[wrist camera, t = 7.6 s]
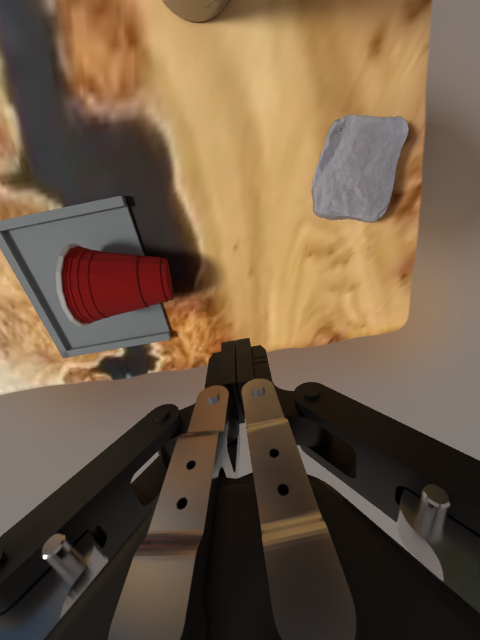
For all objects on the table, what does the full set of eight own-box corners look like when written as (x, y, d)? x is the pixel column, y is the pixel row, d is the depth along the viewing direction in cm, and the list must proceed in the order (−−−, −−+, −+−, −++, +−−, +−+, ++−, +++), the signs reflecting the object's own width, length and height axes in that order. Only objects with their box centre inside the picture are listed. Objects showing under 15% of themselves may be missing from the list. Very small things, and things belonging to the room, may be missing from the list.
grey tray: (124, 195, 34) (120, 195, 33) (171, 336, 44) (170, 339, 43) (-7, 222, 35) (-15, 223, 34) (67, 354, 45) (63, 357, 44)
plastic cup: (157, 219, 31) (50, 227, 29) (166, 307, 29) (52, 319, 28) (171, 256, 41) (93, 263, 40) (178, 321, 40) (97, 331, 38)
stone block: (305, 219, 38) (376, 222, 37) (307, 219, 34) (388, 224, 32) (319, 121, 33) (401, 122, 32) (323, 107, 29) (418, 107, 28)
